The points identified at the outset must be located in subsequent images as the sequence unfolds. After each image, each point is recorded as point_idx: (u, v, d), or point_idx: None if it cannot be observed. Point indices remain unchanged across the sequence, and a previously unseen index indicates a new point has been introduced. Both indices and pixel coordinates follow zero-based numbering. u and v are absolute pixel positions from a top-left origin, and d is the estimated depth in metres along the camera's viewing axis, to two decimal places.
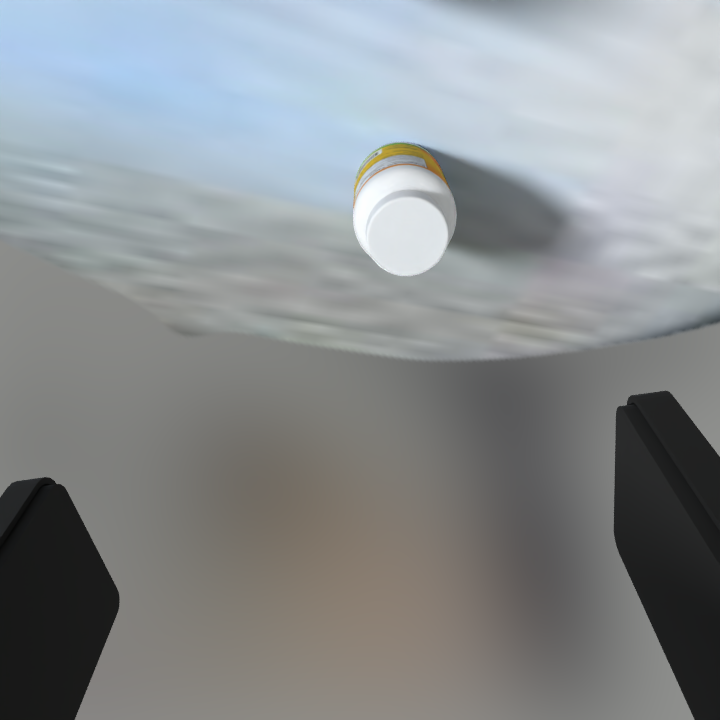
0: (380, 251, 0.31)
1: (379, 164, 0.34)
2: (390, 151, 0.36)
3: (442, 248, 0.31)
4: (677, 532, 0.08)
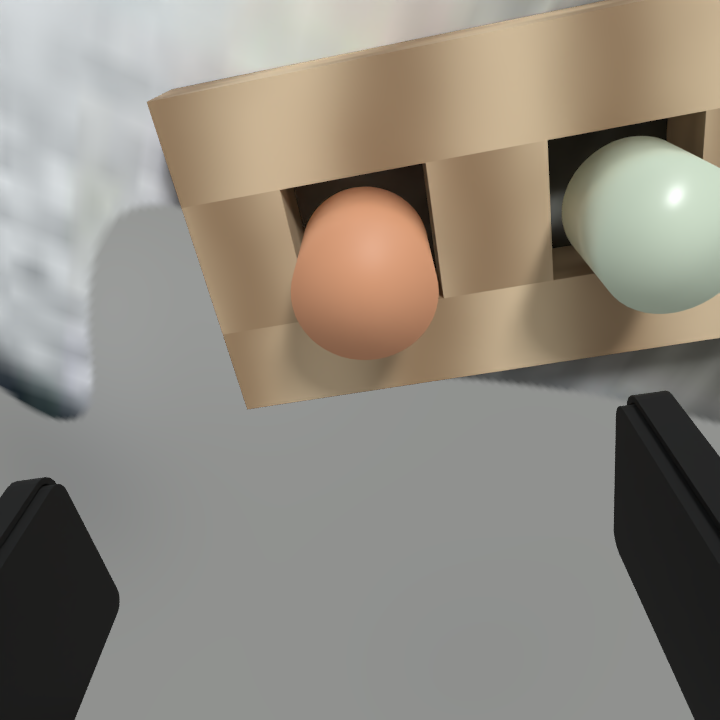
0: None
1: None
2: None
3: None
4: (677, 532, 0.08)
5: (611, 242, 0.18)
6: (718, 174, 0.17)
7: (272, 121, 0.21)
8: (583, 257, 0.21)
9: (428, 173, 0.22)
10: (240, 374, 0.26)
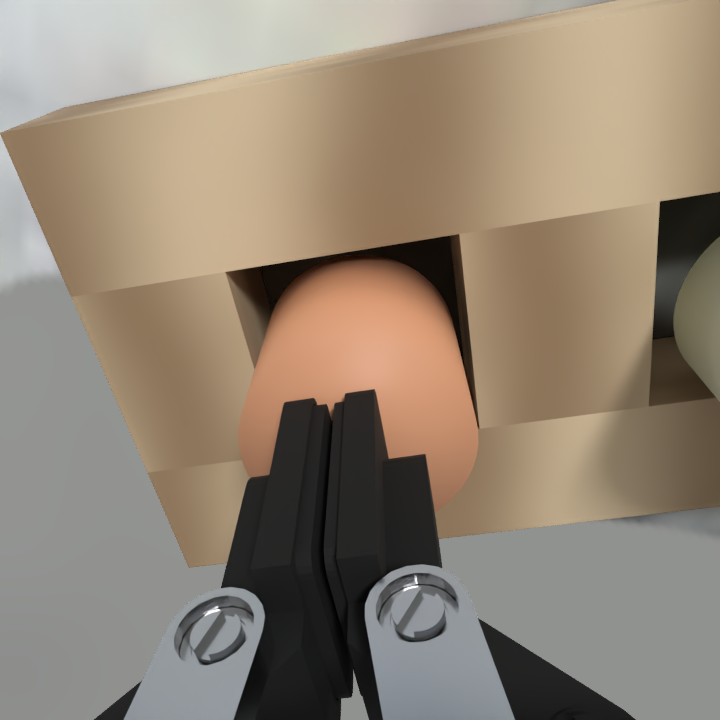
0: None
1: None
2: None
3: None
4: None
5: None
6: None
7: (208, 166, 0.13)
8: (719, 397, 0.13)
9: (463, 250, 0.14)
10: (176, 524, 0.18)
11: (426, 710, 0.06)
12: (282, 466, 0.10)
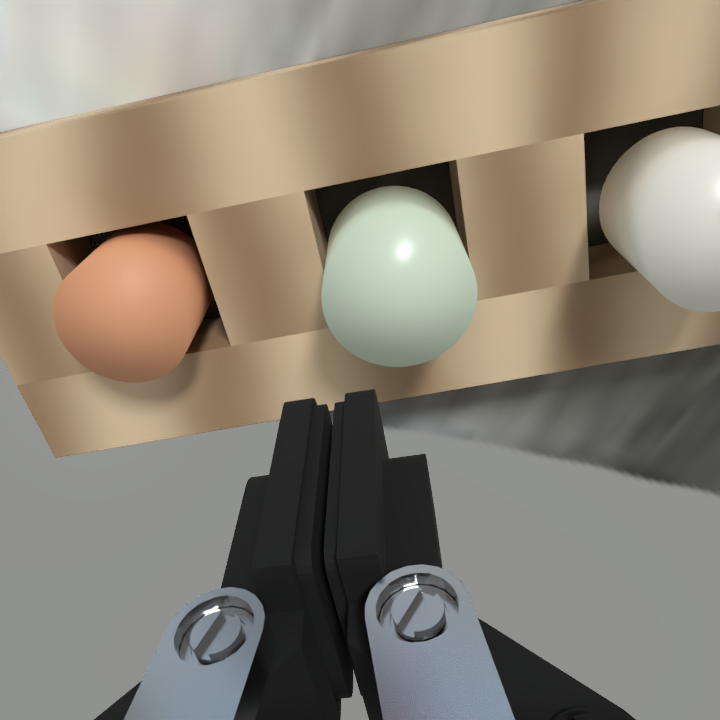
0: None
1: None
2: None
3: None
4: None
5: (333, 299, 0.18)
6: (423, 231, 0.17)
7: (25, 178, 0.21)
8: None
9: (191, 225, 0.22)
10: (42, 424, 0.26)
11: (426, 710, 0.06)
12: (282, 466, 0.10)
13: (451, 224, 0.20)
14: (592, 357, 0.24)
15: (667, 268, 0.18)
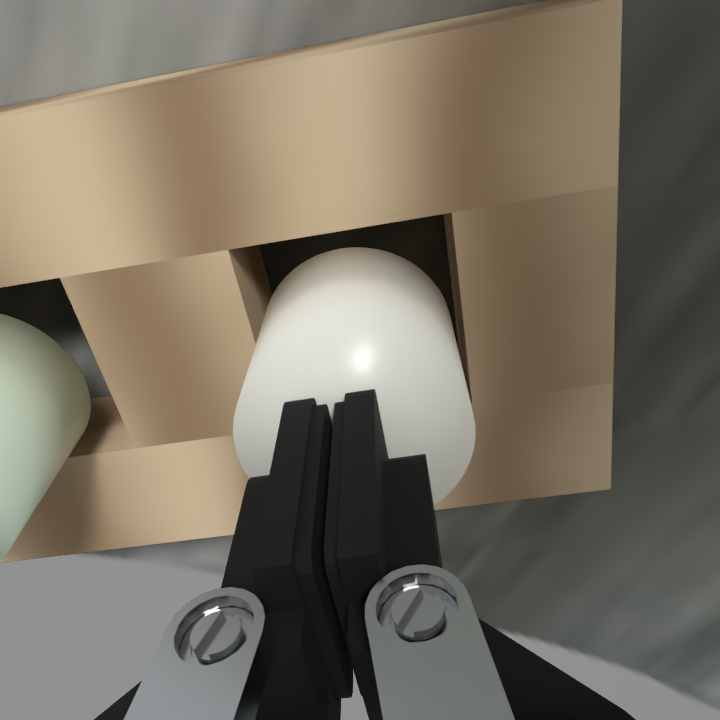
0: None
1: None
2: None
3: None
4: None
5: None
6: None
7: None
8: None
9: None
10: None
11: (426, 711, 0.06)
12: (282, 466, 0.10)
13: (21, 379, 0.14)
14: None
15: None
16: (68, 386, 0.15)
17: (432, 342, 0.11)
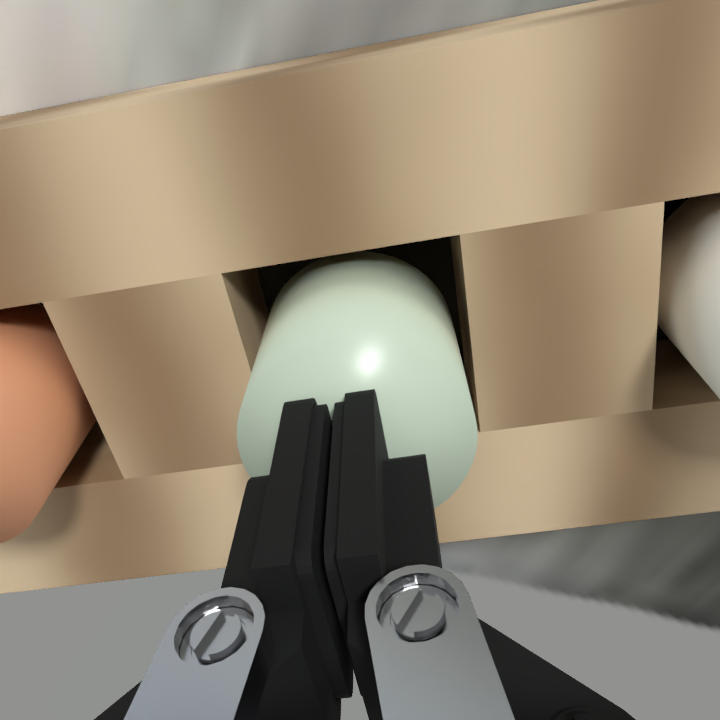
0: None
1: None
2: None
3: None
4: None
5: (255, 439, 0.12)
6: (395, 351, 0.11)
7: None
8: None
9: (51, 317, 0.14)
10: None
11: (426, 710, 0.06)
12: (282, 466, 0.10)
13: (442, 318, 0.13)
14: (646, 509, 0.17)
15: None
16: (454, 331, 0.14)
17: None
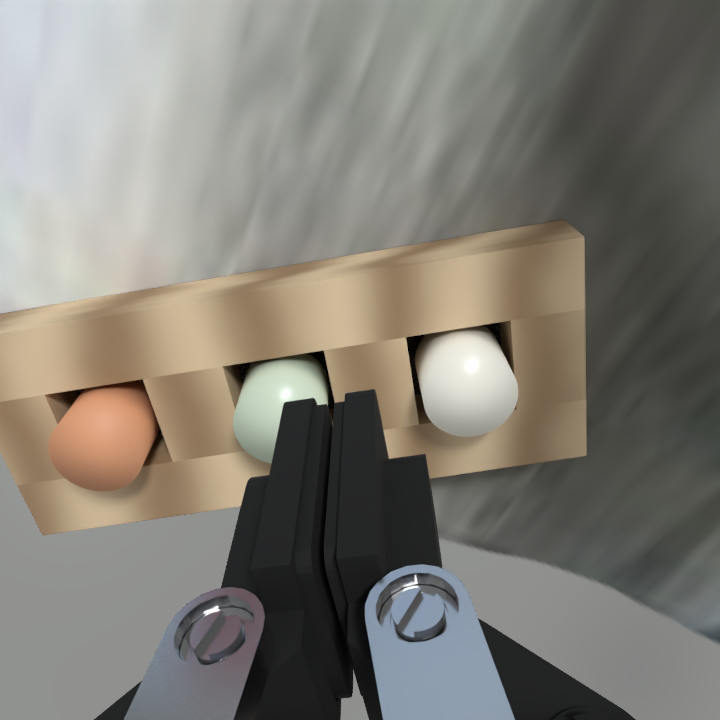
0: None
1: None
2: None
3: None
4: None
5: (240, 425, 0.30)
6: (292, 390, 0.30)
7: (32, 354, 0.31)
8: None
9: (145, 385, 0.32)
10: (34, 511, 0.35)
11: (426, 710, 0.06)
12: (282, 466, 0.10)
13: (317, 376, 0.32)
14: None
15: (437, 412, 0.30)
16: (326, 381, 0.33)
17: (501, 358, 0.30)
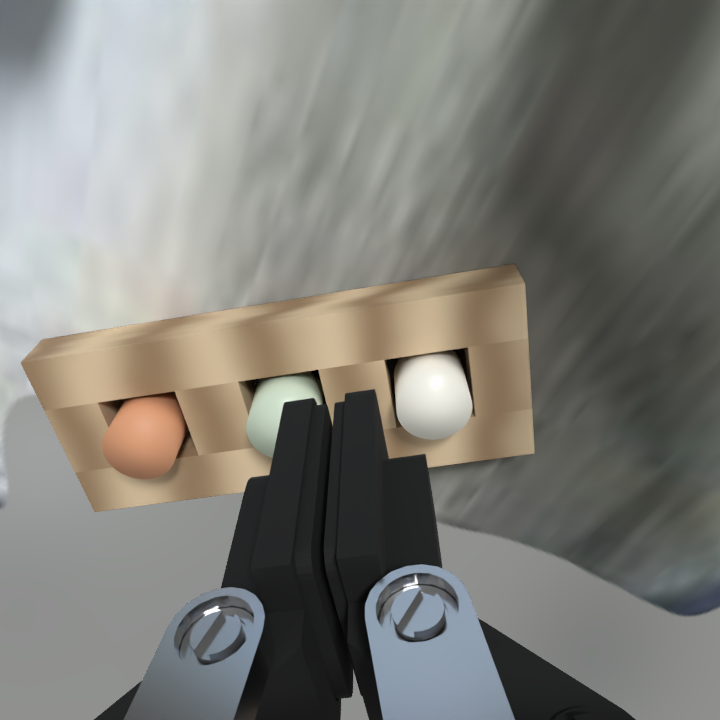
0: None
1: None
2: None
3: None
4: None
5: (252, 429, 0.38)
6: None
7: (88, 371, 0.39)
8: None
9: (177, 396, 0.40)
10: (88, 493, 0.44)
11: (426, 710, 0.06)
12: (282, 466, 0.10)
13: (313, 389, 0.40)
14: None
15: (408, 420, 0.38)
16: (321, 392, 0.41)
17: (459, 378, 0.37)
